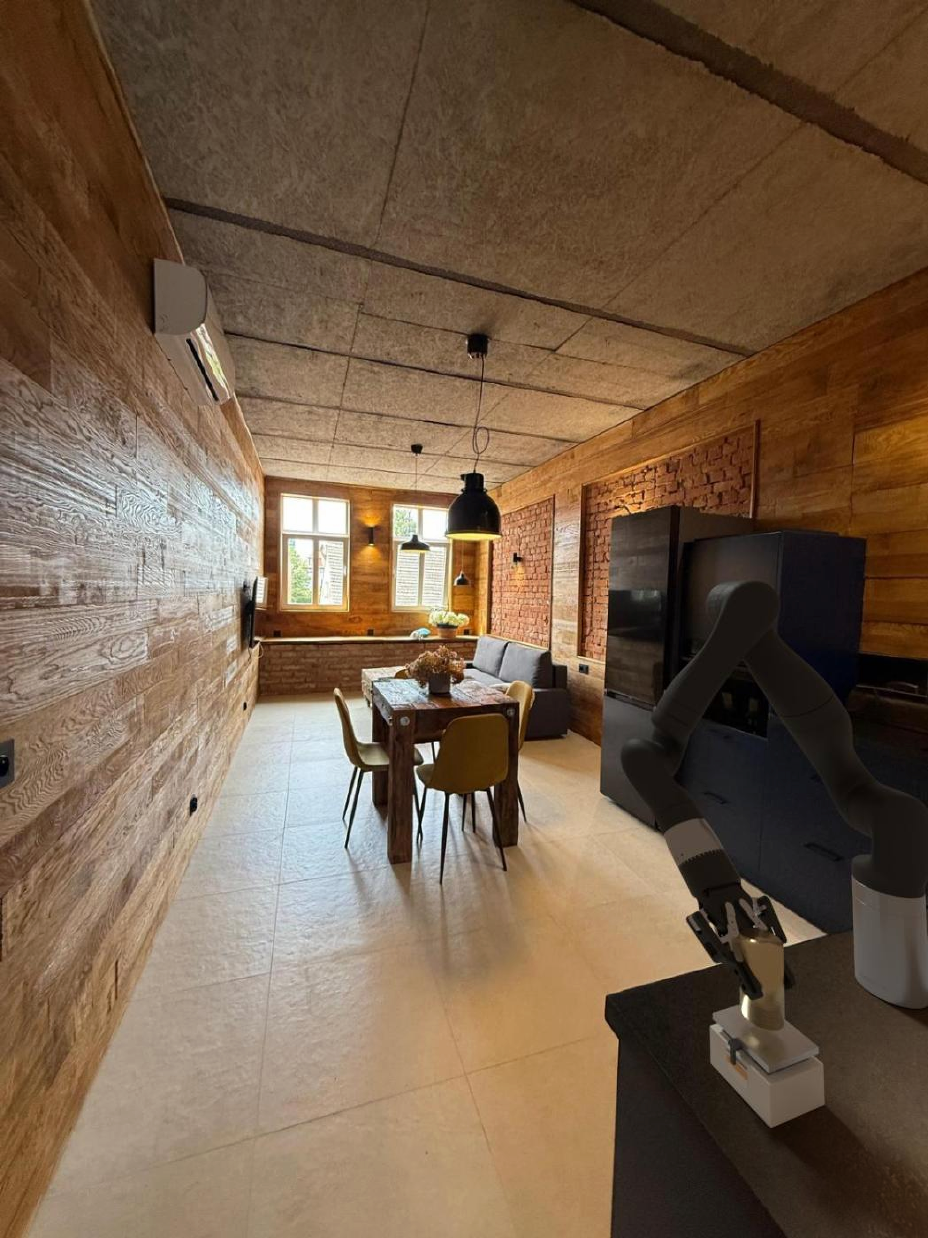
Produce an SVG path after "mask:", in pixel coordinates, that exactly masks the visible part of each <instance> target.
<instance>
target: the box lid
mask: <svg viewBox="0 0 928 1238" xmlns="http://www.w3.org/2000/svg"><path fill="white" fill-rule="evenodd" d="M712 1020H714V1022H715V1023H716V1024H717V1023H718V1024H719V1025H720V1026H721V1027H722V1028H723V1029H724V1030H725V1031H726V1032H727V1033H728V1034H729V1035H730V1036H731V1037H732V1038H733V1039H731V1040H728V1045H729V1046H730V1062H731V1063H732V1064H733V1065H736V1051H739V1050H742V1049H744V1050H745V1051H746V1052H748V1053H749V1054H750V1055H751V1056H752V1057H753V1058H754V1061H755V1063H756V1064H757V1065H758V1066H759V1067H760V1068H762V1069H764V1070H766V1071H767V1072H768V1073H771V1072H773V1071H776V1070H778V1069H781V1068H784V1067H786V1066H789V1065H791V1064H794V1063H796V1062H799V1061H801V1060H804V1059H806V1058H809V1057H812V1056H814V1057H815V1056H816V1055H817V1056H818V1054H820V1050H819V1049H820V1047H819V1046H818V1045H817V1044H815V1042H813V1041H812V1040H811V1039H810V1038H808V1037H807V1036H806V1035H805V1034H803V1032H801V1031H800V1030H799V1029H797V1028H796V1027H795V1026H794V1025H793V1024H791V1022H789V1021H787V1020H786V1019H785V1018H784V1027H783V1028H782V1029H780V1030H777V1031H770V1030H766V1029H763V1028H760V1027H758V1026H756V1025H754V1024H753V1023H751V1022H750V1021H749V1020H747V1019H746V1018H745V1016H744V1015H743V1014H742V1012H741V1010H740V1003H739V1004H736V1005H734V1006H730V1007H728V1008H725V1009H721V1010H717V1011H715V1012H713V1013H712Z"/></svg>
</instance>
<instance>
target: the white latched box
mask: <svg viewBox="0 0 928 1238" xmlns="http://www.w3.org/2000/svg"><path fill="white" fill-rule="evenodd" d="M731 1039H733V1038H732V1037H731V1036H730V1035H729V1034H728V1033H727V1032H726V1031H725V1030H724V1029H723V1028H722V1027H721V1026H720V1025H719V1024H718V1023H717V1022H716V1023H715V1024H711V1025H709V1046H710V1047H709V1051H710V1052H709V1053H710V1055H709V1058H710V1064H711V1065H712V1066H713V1067H714V1069H716V1071H717V1072H718V1073H719V1074H720V1075H721V1076H722V1077H723V1078H724V1079H725V1080H726V1081H727V1082H728V1084H729V1085H730V1086H731V1087H732V1088H733V1089H734V1090H735V1091H736V1093H737V1094H738V1095H740V1097H742V1099H743V1100H744V1101H745V1102H746V1103H747V1104H748V1106H749V1107H751V1109H752V1110H753V1111H754V1112H755V1113H756V1114H757V1116H758V1117H760V1118H761V1120H762V1121H763V1122H764V1123H765V1124H766V1125H767V1126H768V1127H769V1128H770V1129H772V1128H775V1127H776V1126H779V1125H781V1124H784V1123H785V1122H788V1121H792V1120H793V1119H795V1118H798V1117H799V1116H802V1115H805V1114H806V1113H808V1112H812V1111H814V1110H815V1109H817V1108H821V1107H822V1106H825V1075H824V1074H825V1073H824V1072H825V1071H824V1063H823V1062H822V1061H820V1060H819V1059H818V1058H817V1057H815V1055H814V1056H812V1057H809V1058H806V1059H804V1060H801V1061H799V1062H796V1063H794V1064H791V1065H789V1066H786V1067H784V1068H781V1069H778V1070H776V1071H773V1072H771V1073H768V1072H767V1071H766V1070H764V1069H762V1068H760V1067H759V1066H758V1065H757V1064H756V1063H755V1061H754V1058H753V1057H752V1056H751V1055H750V1054H749V1053H748V1052H746V1051H745V1050H744V1049H742V1050H739V1051H736V1065H733V1064H732V1063H731V1062H730V1046H729V1045H728V1040H731Z"/></svg>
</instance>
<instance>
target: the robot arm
mask: <svg viewBox="0 0 928 1238" xmlns="http://www.w3.org/2000/svg"><path fill="white" fill-rule="evenodd" d="M705 611H706V615H707V617H708V619H709V621H710V622H711V624H712V625H713V626H714V628H713V630H712V631H711V633H710V635H709V637H708V639H707V640H706V642H705V643H704V645H703V646H702V647H701V649H700V650H699V652H697V654H695V656H694V657H693V658H692V659H691V660H690V661H689V662H688V663H687V664H686V666H685V667H684V668H683V669H682V670H681V671H680V672H679V673H677V675H676V676H675V677H674V679H672V681H671V682H670V683H669V685H668V686H667V688H666V690H665V691H664V693H663V694H662V696H661V698H660V699H659V701H658V703H657V705H656V707H655V708H654V709H653V711H652V713H651V716H650V721H651V723H652V725H653V727H654V730H653V732H652V735H651V737H650V740H649V739H645V738H635V737H634V738H632V739H630V740H628V741H626V742H625V743H624V744H623V745H622V748H621V749H620V756H619V757H620V758H619V759H620V764H621V769H622V770H623V773H624V775H625V777H626V778H627V780H628V781H629V783H630V784H631V785H632V787H633V788H634V790H635V791H636V792H637V794H638V795H639V797H640V798H641V799H642V800H643V802H644V803H645V804H646V805H647V807H648V808H649V809H650V810H649V811H650V812H651V813H652V816H653V818H654V820H655V821H656V824H657V826H658V828H659V831H660V832H661V834H662V835H663V838H664V840H665V843H666V845H667V848H668V852H669V854H670V855H671V857H672V859H673V861H674V863H675V865H676V867H677V869H678V872H679V873H680V875H681V877H682V878H683V881H684V882H685V885H686V887H687V889H688V890H689V891H688V892H689V893H690V895H691V896H692V897H693V898H695V899H696V900H697V904H698V910H696V911H694V912H692V913H690V914H689V915H687V916H685V922H686V923H687V925H688V926H689V928H690V930H691V931H692V933H693V934H694V935H695V937H696V938H697V940H698V941H699V943H700V944H701V946H702V947H703V949H704V951H705V952H706V953H707V955H708V956H709V957H710V959H711V961H712V962H713V964H723V965H727V966H728V967H729V968H730V970H731V972H732V973H733V975H734V978H735V980H736V982H737V984H738V986H739V989H740V988H741V989H742V991H743V993H744V994H745V995H746V996H748V998H749V999H750V1000H751V1001H753V1000H756V999H760V998H763V992H762V990H761V988H760V987H759V985H758V983H757V981H756V979H755V977H754V975H753V973H752V971H751V970H750V968H749V966H748V964H747V962H744V963H743V960H744V959H743V955H742V951H741V947H740V936H739V931H740V930H741V929H742V928H745V927H756V928H760V929H763V930H766V931H768V932H770V933H772V934H774V935H775V936H777V937H778V938H779V939H780V940H781V941H782V943H783V945H785V944H787V943H788V938H787V936H786V934H785V931H784V929H783V926H782V924H781V922H780V920H779V917H778V915H777V912H776V910H775V908H774V905H773V904H772V901H771V899H770V897H769V896H767V895H765V894H764V895H762V896H758V897H756V896H751V895H750V894H749V893H748V892H747V891H746V890H745V889H744V888H743V885H742V877H741V875H740V873H738V871H737V869H736V867H735V865H734V863H733V862H732V860H731V858H730V857H729V855H728V853H727V851H726V850H725V848H724V846H723V845H722V843H721V841H720V839H719V838H718V836H717V835H716V833H715V832H714V830H713V829H712V828H711V826H710V825H709V823H708V822H707V820H706V819H705V817H704V816H703V814H702V812H701V811H700V808H699V806H698V805H697V804H696V802H695V800H694V798H693V797H692V796H691V794H690V793H689V792H688V791H687V790H686V788H684V787H682V786H681V785H680V784H678V783H677V782H676V781H675V779H674V776H675V774H676V773H677V772H678V770H679V768H680V766H681V763H682V761H683V757H684V755H685V752H686V749H687V746H688V743H689V739H690V736H691V734H692V733H693V732H694V731H695V729H696V727H697V725H698V724H699V722H700V721H701V718H702V717H703V716H704V714H705V712H706V711H707V709H708V708H709V706H710V704H711V702H712V701H713V699H714V698H715V696H716V695H717V693H718V692H719V691H720V689H721V688H722V687H723V685H724V684H725V683H726V681H727V679H728V678H729V677H730V675H731V674H732V673H733V671H734V670H736V668H737V666H739V664H740V663H741V662H742V661H743V662H744V663H745V665H746V667H747V668H748V670H749V672H750V674H751V676H752V677H753V679H754V680H755V682H756V684H757V685H758V687H759V688H760V689H761V691H762V693H763V694H764V696H765V697H766V699H767V701H768V702H769V703H770V705H771V707H772V709H773V710H774V712H775V713H776V715H777V716H778V718H779V719H780V720H781V722H782V723H783V725H784V726H785V728H786V729H787V731H788V732H789V733H790V735H791V736H792V737H793V739H794V741H795V742H796V743H797V744H798V746H799V748H800V749H801V750H802V752H803V753H804V756H806V758H807V759H808V761H810V764H811V765H812V766H813V768H814V769H815V770H816V772H817V774H818V775H819V777H820V779H821V780H822V782H823V783H822V784H823V785H824V786H825V788H826V791H827V792H828V793H829V796H830V798H831V800H832V802H833V803H834V805H835V808H836V810H837V811H838V812H839V814H840V816H841V817H842V819H843V820H844V821H845V822H846V823H847V824H848V825H849V826H850V827H851V828H852V829H854V830H855V831H858V832H859V833H861V834H862V835H864V836H866V837H868V838H870V839H871V850H870V851H871V853H870V854H859V855H855V856H854V857H853V858H852V859H851V866H850V867H851V892H852V920H853V921H852V922H853V923H852V926H853V956H854V957H853V958H854V961H853V962H854V976H855V979H856V980H857V983H859V985H861V987H863V989H865V990H866V991H867V992H869V993H871V995H874V996H876V997H877V998H879V999H881V1000H883V1001H885V1002H888V1003H889V1004H893V1005H895V1006H898V1007H901V1008H907V1009H917V1010H919V1009H924V1008H927V1007H928V928H927V927H928V926H927V925H928V924H927V905H926V904H927V903H926V902H927V901H926V885H927V883H928V808H927V807H926V805H925V804H924V803H923V802H922V801H921V800H920V799H918V798H917V797H915V796H913V795H912V794H911V795H910V794H908V793H906V792H904V791H900V790H898V789H895V788H892V787H890V786H887V785H885V784H882V783H881V782H879V781H878V780H877V779H875V777H874V775H872V774H871V773H870V771H869V770H868V769H867V767H866V766H865V765H864V763H863V762H862V761H861V760H860V758H859V756H858V755H857V753H856V750H855V748H854V744H853V724H852V720H851V717H850V715H849V713H848V711H847V709H846V707H845V705H843V703H842V701H841V700H840V699H839V697H838V695H836V693H835V691H834V690H833V688H832V687H831V685H830V684H829V683H828V682H827V681H826V680H825V679H824V678H823V677H822V676H821V675H820V674H819V672H817V671H816V670H815V669H814V668H813V667H812V666H811V665H810V664H809V663H808V662H806V661H805V660H804V659H803V658H802V657H801V656H799V655H798V653H796V652H795V651H794V650H793V649H792V648H790V647H789V645H788V644H786V643H785V642H784V640H783V639H782V638H781V637H780V636H779V634H778V633H777V631H776V630H775V628H774V626H773V625H774V624H775V622H776V621H777V619H778V617H779V615H780V612H781V599H780V596H779V594H778V592H777V590H776V589H775V588H774V587H773V586H772V585H770V584H769V583H767V582H764V581H761V580H755V579H742V580H731V581H726V582H723V583H722V582H721V583H719V584H718V585H716V586H714V587H713V588H712V589H711V590H710V591H709V593H708V594H707V597H706V601H705ZM710 924H712V925H713V928H714V929H713V928H712V926H711V925H710ZM796 987H797V983H796V979H795V975H794V974H793V972H792V970H791V968H790V967H789V965H788V963H787V962H786V959H784V991H787V990H790V989H794V988H796Z"/></svg>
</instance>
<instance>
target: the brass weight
mask: <svg viewBox="0 0 928 1238" xmlns="http://www.w3.org/2000/svg"><path fill="white" fill-rule="evenodd" d="M739 936H740V947H741V951H742V955H743V959H744V960H743V963H744V962H747V964H748V966H749V968H750V970H751V971H752V973H753V975H754V977H755V979H756V981H757V983H758V985H759V987H760V988H761V990H762V992H763V998H760V999H756V1000H753V1001H751V1000H750V999H749V998H748V996H746V995H745V994H744V993H743V991H742V989H741V988H740V987H739V1004H740V1010H741V1012H742V1014H743V1015H744V1016H745V1018H746V1019H747V1020H749V1021H750V1022H751V1023H753V1024H754V1025H756V1026H758V1027H760V1028H763V1029H766V1030H770V1031H777V1030H780V1029H782V1028H783V1027H784V1019H785V990H784V960H785V956H784V955H785V953H784V950H785V949H784V948H785V947H784V944H783V943H782V941H781V940H780V939H779V938H778V937H777V936H775V933H774V934H772V933H770V932H768V931H766V930H763V929H760V928H756V927H755V926H753V927H745V928H742V929H741V930H740V931H739Z"/></svg>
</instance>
